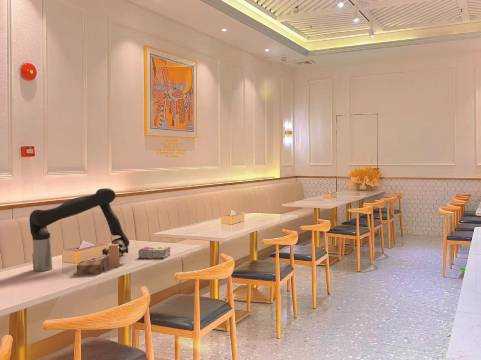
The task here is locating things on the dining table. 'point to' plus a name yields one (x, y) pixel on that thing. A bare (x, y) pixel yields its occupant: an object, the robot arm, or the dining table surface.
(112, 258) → the terracotta block
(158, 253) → the candy bar box
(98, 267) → the walnut block
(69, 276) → the dining table surface
